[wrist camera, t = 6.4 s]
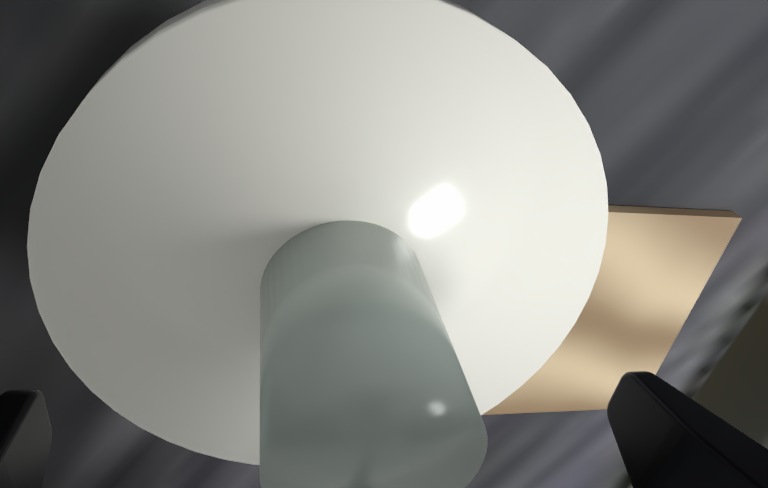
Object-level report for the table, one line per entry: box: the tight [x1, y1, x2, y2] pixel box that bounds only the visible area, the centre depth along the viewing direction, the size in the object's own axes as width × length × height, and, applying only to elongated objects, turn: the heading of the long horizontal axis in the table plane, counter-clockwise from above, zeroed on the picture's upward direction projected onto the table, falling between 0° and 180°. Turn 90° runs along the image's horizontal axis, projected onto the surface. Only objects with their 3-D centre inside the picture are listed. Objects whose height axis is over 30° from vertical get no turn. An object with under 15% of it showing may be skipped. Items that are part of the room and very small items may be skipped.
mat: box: [482, 205, 742, 415], centre depth 27 cm, size 12×12×1 cm
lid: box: [27, 0, 608, 488], centre depth 10 cm, size 11×11×5 cm
